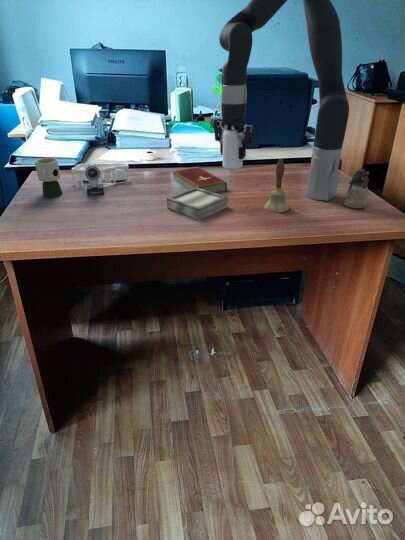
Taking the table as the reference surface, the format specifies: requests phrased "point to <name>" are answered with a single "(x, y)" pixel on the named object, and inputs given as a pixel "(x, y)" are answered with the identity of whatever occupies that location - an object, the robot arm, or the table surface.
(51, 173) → the character mug
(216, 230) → the table surface
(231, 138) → the can
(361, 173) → the figurine
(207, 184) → the hardcover book
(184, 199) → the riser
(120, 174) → the skeletal toy car
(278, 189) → the hand bell
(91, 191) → the watch
